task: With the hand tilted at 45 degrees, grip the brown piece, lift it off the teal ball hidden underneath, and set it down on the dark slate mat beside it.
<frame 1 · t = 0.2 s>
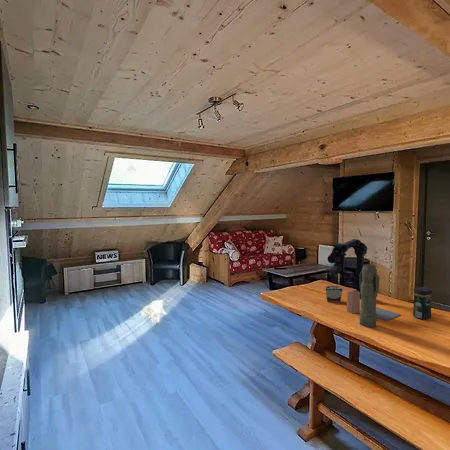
hand: (338, 284, 205), 14 cm above the table, tool pointing down, fingers open, 9 cm apart
brown piece: (353, 311, 195), on the table
food container: (332, 300, 217), on the table
slate mat: (381, 314, 190), on the table
thermos: (367, 324, 174), on the table
coffee jar: (421, 317, 184), on the table
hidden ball: (353, 308, 195), in the brown piece
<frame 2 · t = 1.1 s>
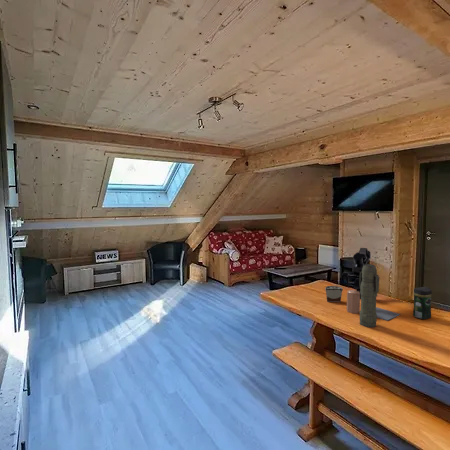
hand: (355, 288, 200), 13 cm above the table, tool tilted 45°, fingers open, 9 cm apart
nothing on the table moved.
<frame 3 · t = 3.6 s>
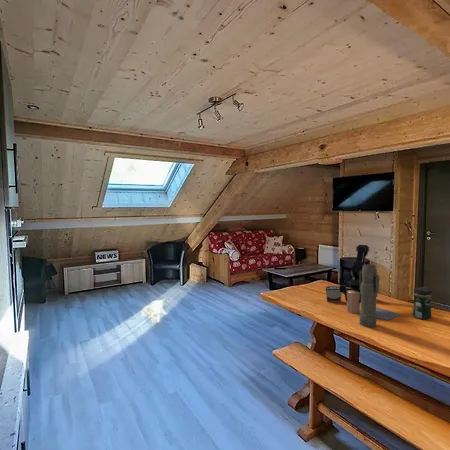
hand: (352, 301, 193), 7 cm above the table, tool tilted 45°, fingers closed on brown piece, 8 cm apart
brown piece: (353, 311, 195), on the table, touching gripper
everything else where it was.
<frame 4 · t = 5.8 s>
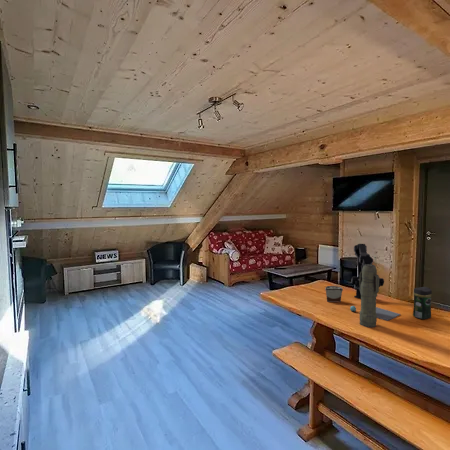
hand: (368, 293, 189), 13 cm above the table, tool tilted 45°, fingers closed on brown piece, 8 cm apart
brown piece: (367, 302, 191), point 7 cm above the table, touching gripper
everything else where it was.
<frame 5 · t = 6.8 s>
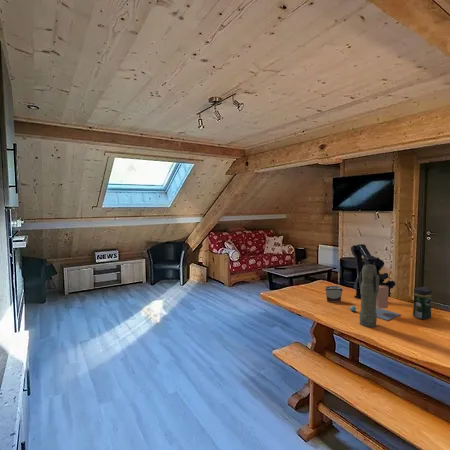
hand: (382, 296, 188), 12 cm above the table, tool tilted 45°, fingers closed on brown piece, 8 cm apart
brown piece: (381, 306, 190), point 5 cm above the table, touching gripper
everything else where it was.
when the fingers open (9 cm above the table, at t = 7.9 s): brown piece drops 1 cm, resting on slate mat.
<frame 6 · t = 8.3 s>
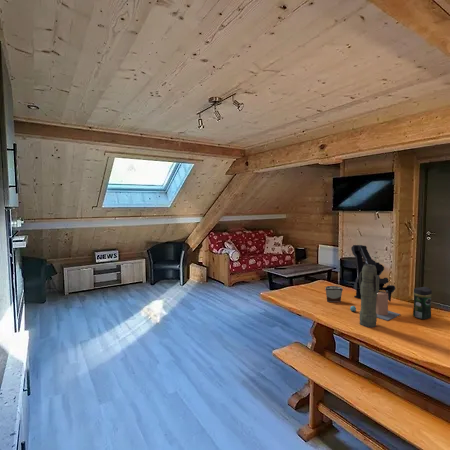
hand: (382, 301, 188), 9 cm above the table, tool tilted 45°, fingers open, 9 cm apart
brown piece: (381, 313, 190), point 1 cm above the table, touching slate mat
everything else where it was.
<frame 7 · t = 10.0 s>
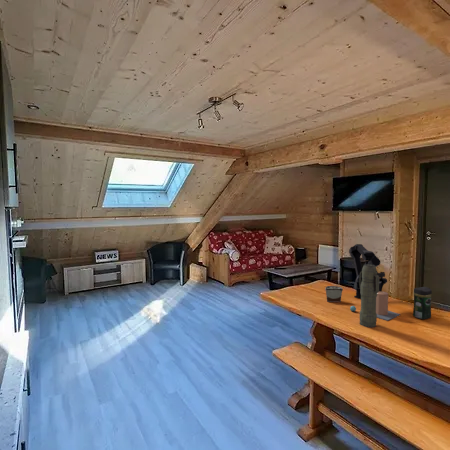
hand: (374, 292, 198), 11 cm above the table, tool tilted 30°, fingers open, 9 cm apart
nothing on the table moved.
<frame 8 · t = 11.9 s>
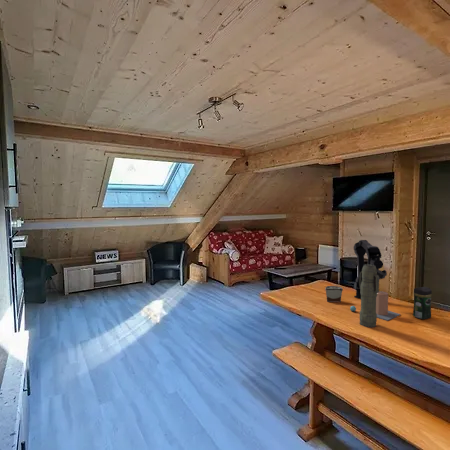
hand: (371, 288, 200), 13 cm above the table, tool pointing down, fingers open, 9 cm apart
nothing on the table moved.
at the end: brown piece inside the target area on the slate mat (0.1 cm from its centre), point 0.6 cm above the slate mat's base; brown piece tilted 0°; the gripper is holding nothing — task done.
